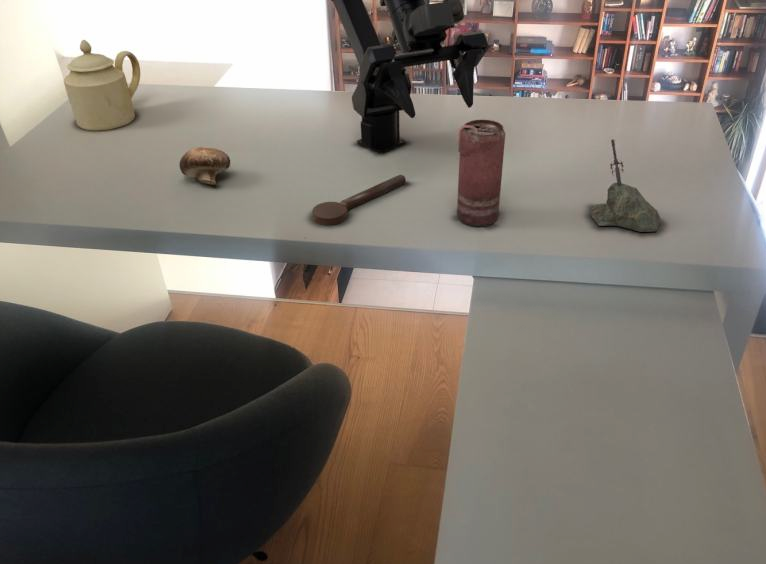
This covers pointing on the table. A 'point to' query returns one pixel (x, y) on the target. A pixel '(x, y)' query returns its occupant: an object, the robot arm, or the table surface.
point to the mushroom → (204, 164)
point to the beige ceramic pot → (101, 89)
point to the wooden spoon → (352, 202)
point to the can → (480, 172)
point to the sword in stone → (625, 206)
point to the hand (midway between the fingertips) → (442, 111)
